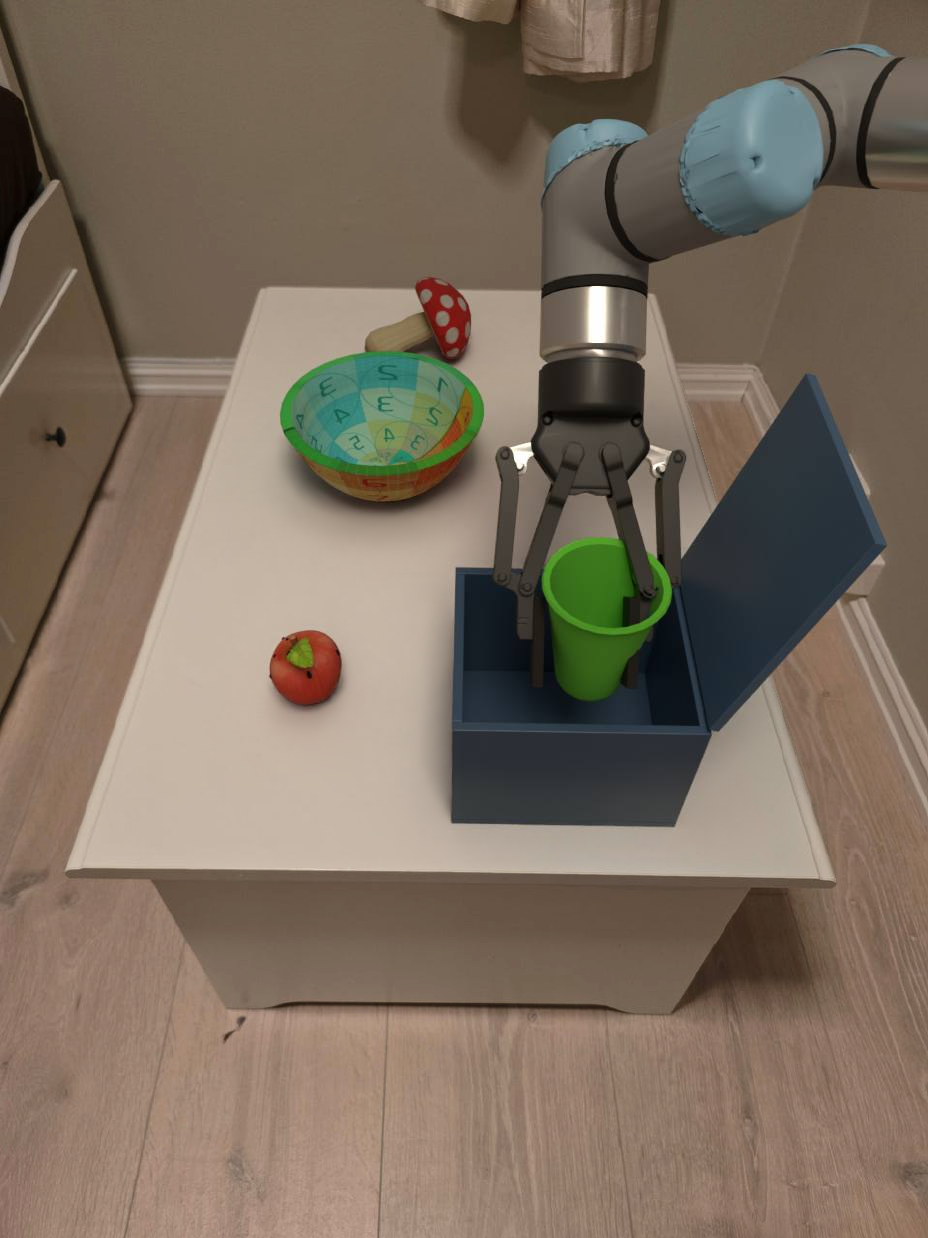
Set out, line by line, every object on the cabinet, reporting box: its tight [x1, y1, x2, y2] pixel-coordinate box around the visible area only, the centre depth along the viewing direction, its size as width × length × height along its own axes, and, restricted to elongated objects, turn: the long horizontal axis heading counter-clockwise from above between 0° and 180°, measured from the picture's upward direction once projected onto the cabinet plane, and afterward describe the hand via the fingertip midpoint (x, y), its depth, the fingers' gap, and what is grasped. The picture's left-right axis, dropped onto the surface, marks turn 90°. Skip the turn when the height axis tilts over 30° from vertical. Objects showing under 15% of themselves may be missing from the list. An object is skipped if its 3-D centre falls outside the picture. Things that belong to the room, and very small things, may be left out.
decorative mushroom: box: [364, 276, 472, 360], centre depth 119 cm, size 11×11×15 cm
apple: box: [268, 629, 343, 706], centre depth 81 cm, size 8×7×10 cm
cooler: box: [450, 566, 713, 828], centre depth 76 cm, size 19×17×14 cm
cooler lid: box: [680, 372, 888, 733], centre depth 63 cm, size 20×17×1 cm
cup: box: [542, 536, 672, 702], centre depth 66 cm, size 9×9×11 cm
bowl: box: [279, 351, 485, 502], centre depth 101 cm, size 22×22×10 cm
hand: (582, 684), depth 65 cm, fingers closed on cup, 6 cm apart
